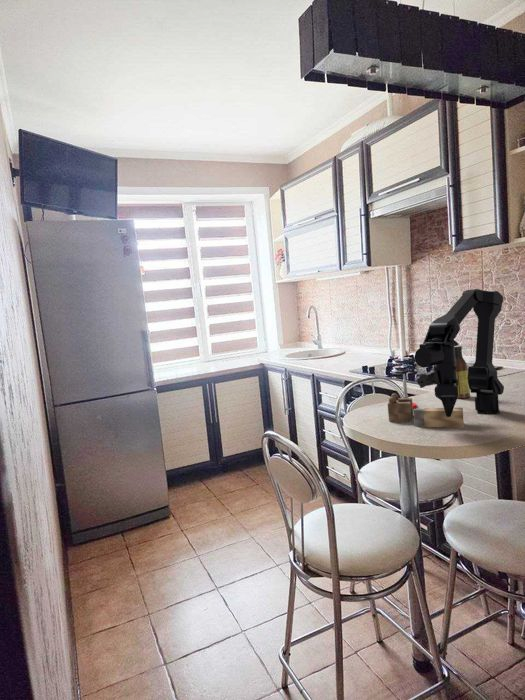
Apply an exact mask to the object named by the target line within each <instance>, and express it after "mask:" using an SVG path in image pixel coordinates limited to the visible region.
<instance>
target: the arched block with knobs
mask: <svg viewBox="0 0 525 700" xmlns="http://www.w3.org/2000/svg"><path fill="white" fill-rule="evenodd" d="M413 403H414V402H413V398H412V397H408V398H403V397H399V394H397V393H394V392H393V393H392V394H391V396H390V397H389V398H388V402H387V411H388V412H387V413H388V422H412V419H413V418H414V409H413Z"/></svg>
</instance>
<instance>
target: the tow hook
mask: <svg viewBox="0 0 525 700" xmlns="http://www.w3.org/2000/svg"><path fill="white" fill-rule="evenodd" d="M402 378H403V379H402V385H403V387H402V388H403V396H402V398H409V395H408V388H407V387H408V385H407V379H406V374H405V373H403V374H402ZM412 403H413V410H414V409H418V408H417V407H418V403H415V402H412Z"/></svg>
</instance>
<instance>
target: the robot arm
mask: <svg viewBox="0 0 525 700" xmlns="http://www.w3.org/2000/svg"><path fill="white" fill-rule="evenodd" d="M503 303H504V296H503V294H501V293H500V291H498V290H493V291H489V290H483V289H480V288H472V289H466V290H464V291H463V292H462V294H461V296H460V297H459V298H458V300H457V301H456V302H455V303H454V304H453V305H452V306H451V308H450V309H449V310H448V311H447V312H446V313H445V314H444V315H441V316H440V317H437V318H436V319H435V320H433V321H432V322H431V323H430V324H429V327H428V330H427V333H426V335H425V338H424V340H423V342H422V343H421V344H419V348H418V349H416V351H415V353H414V356H413V357H414V358H413V359H414V361H415V363H416V364H417V366H419V367H420V368H427V367H433V366H434V368H433V370H430V371H428V372H423V373H420V374H419V375H418V376H417V377H416V378H415V379H416V381H417V384H418V386H419V387H420V389H422V388H425V387H426V386H430V385H432V384H434V385H436V386H434V396H435V397H436V399H439V400H440V401H441V403H442V406H443V407H442V408H444V410H445V413H446V416H447V417H451V414H452V411H453V409H454V408H455V405H456V403H457V400H458V399H459V398H458V378H457V377H456V362H455V348H454V346H459V343H458V342H457V341H455V340H456V337H457V336H458V334H459V333H460V330H461V323H462V322H463V321H464V319H465V318H466V317H467V316H468V314H469V313H470V312H471V311H472V309H473V312H474V314H475V315H476V318H477V332H476V343H475V344H476V348H475V361H474V363H473V364H472V366H468V367H467V370H468V377H467V379H468V385H469V388H470V394H475V395H476V396H474V408H475V409H474V410H475V411H476V412H477V414H500V413H501V411H500V404H499V402H500V401H499V395H503V393H504V389H505V386H504V384H503V383H502V382H501V381H500V380H499V378H498V370H497V369H496V367H495V365H494V364H493V359H494V358H493V356H494V341H495V340H494V339H495V338H494V337H495V325H496V324H495V323H496V318H497V317H498V315H499V314H500V313H501V312H502V308H503V307H502V306H503ZM455 384H456V385H455Z"/></svg>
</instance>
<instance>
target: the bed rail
mask: <svg viewBox="0 0 525 700" xmlns="http://www.w3.org/2000/svg"><path fill="white" fill-rule="evenodd" d="M413 418H414V419H413V420H414V426H415V427H424V428H427V427H428V428H464V427H465V421H464V408H463V407H454V409H453V411H452V414H451V417H447V416H446V413H445V410H444V407H424V408H416V409H413Z"/></svg>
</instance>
